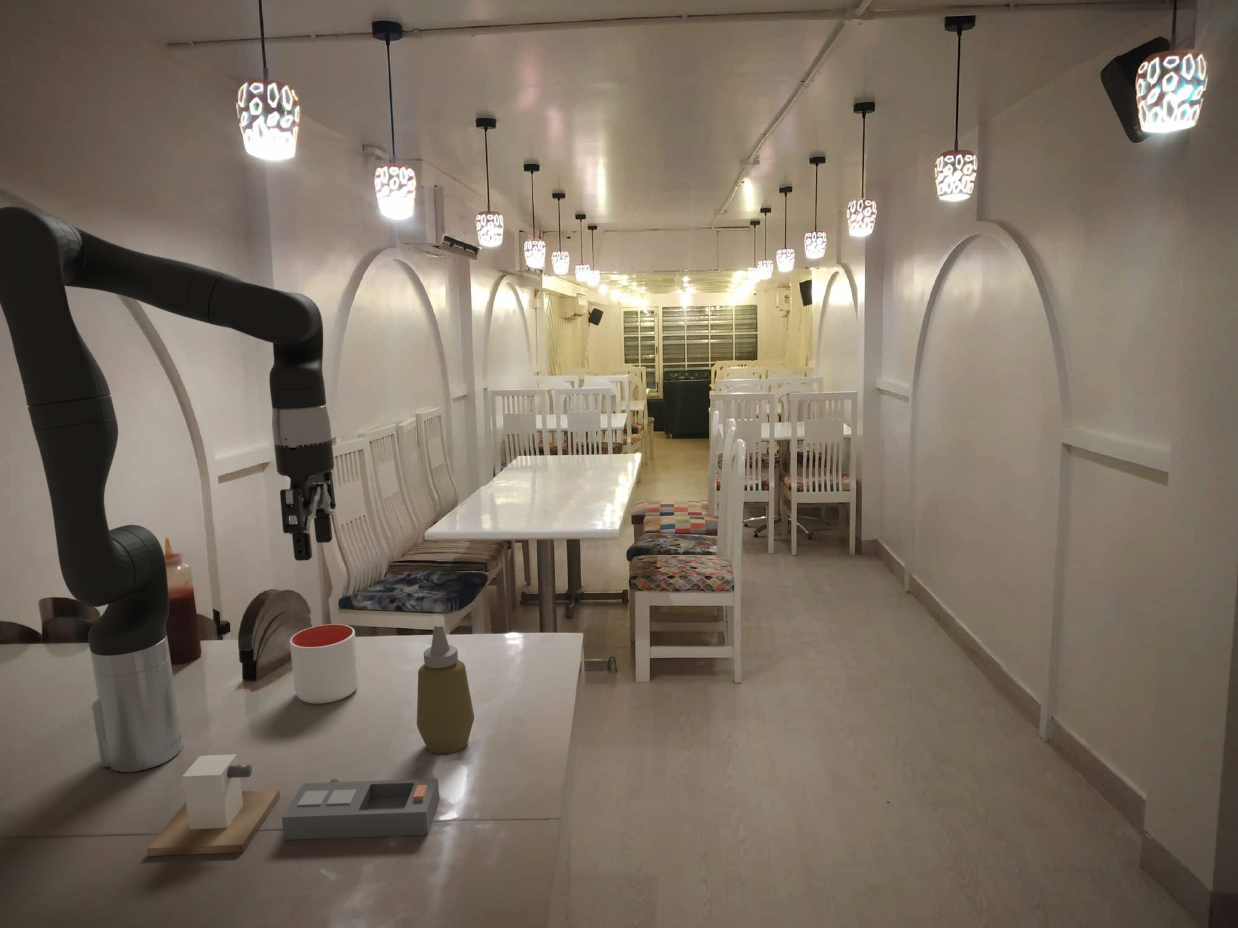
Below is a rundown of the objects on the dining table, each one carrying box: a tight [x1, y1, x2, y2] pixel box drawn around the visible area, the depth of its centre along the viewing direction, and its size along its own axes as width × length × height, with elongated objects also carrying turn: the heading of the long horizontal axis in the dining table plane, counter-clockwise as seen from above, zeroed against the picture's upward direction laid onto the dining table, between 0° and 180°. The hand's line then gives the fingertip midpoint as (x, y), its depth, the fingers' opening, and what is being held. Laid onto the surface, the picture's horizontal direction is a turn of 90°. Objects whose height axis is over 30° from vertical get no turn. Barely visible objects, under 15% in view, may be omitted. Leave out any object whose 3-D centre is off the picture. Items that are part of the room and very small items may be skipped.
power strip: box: [281, 777, 440, 841], centre depth 102 cm, size 17×11×4 cm, turn 91°
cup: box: [289, 623, 360, 705], centre depth 134 cm, size 10×10×10 cm
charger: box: [181, 753, 253, 829], centre depth 100 cm, size 7×4×7 cm, turn 92°
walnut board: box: [146, 789, 281, 857], centre depth 100 cm, size 11×11×1 cm
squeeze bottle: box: [416, 624, 475, 755], centre depth 116 cm, size 8×8×18 cm
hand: (314, 550), depth 117 cm, fingers open, 8 cm apart
